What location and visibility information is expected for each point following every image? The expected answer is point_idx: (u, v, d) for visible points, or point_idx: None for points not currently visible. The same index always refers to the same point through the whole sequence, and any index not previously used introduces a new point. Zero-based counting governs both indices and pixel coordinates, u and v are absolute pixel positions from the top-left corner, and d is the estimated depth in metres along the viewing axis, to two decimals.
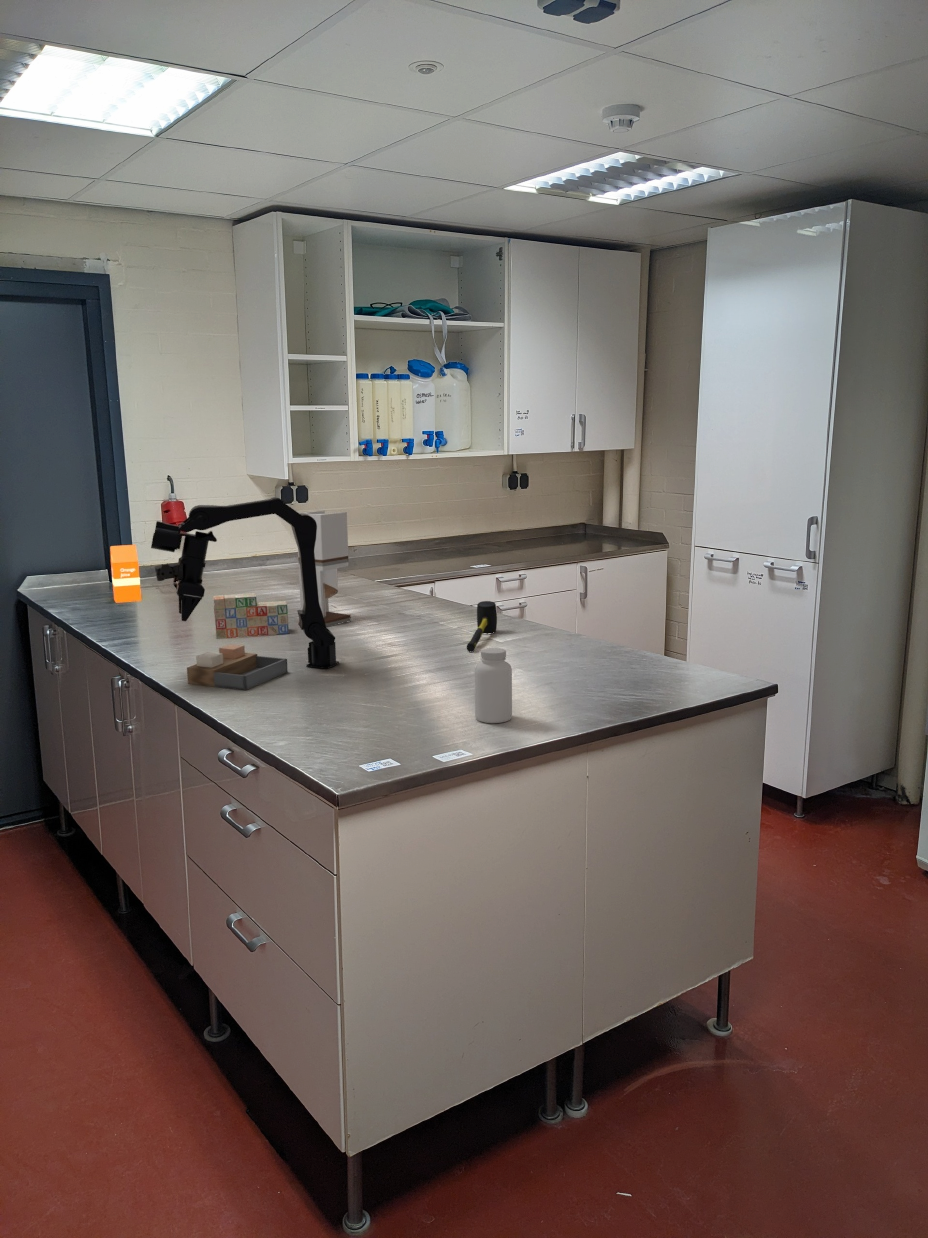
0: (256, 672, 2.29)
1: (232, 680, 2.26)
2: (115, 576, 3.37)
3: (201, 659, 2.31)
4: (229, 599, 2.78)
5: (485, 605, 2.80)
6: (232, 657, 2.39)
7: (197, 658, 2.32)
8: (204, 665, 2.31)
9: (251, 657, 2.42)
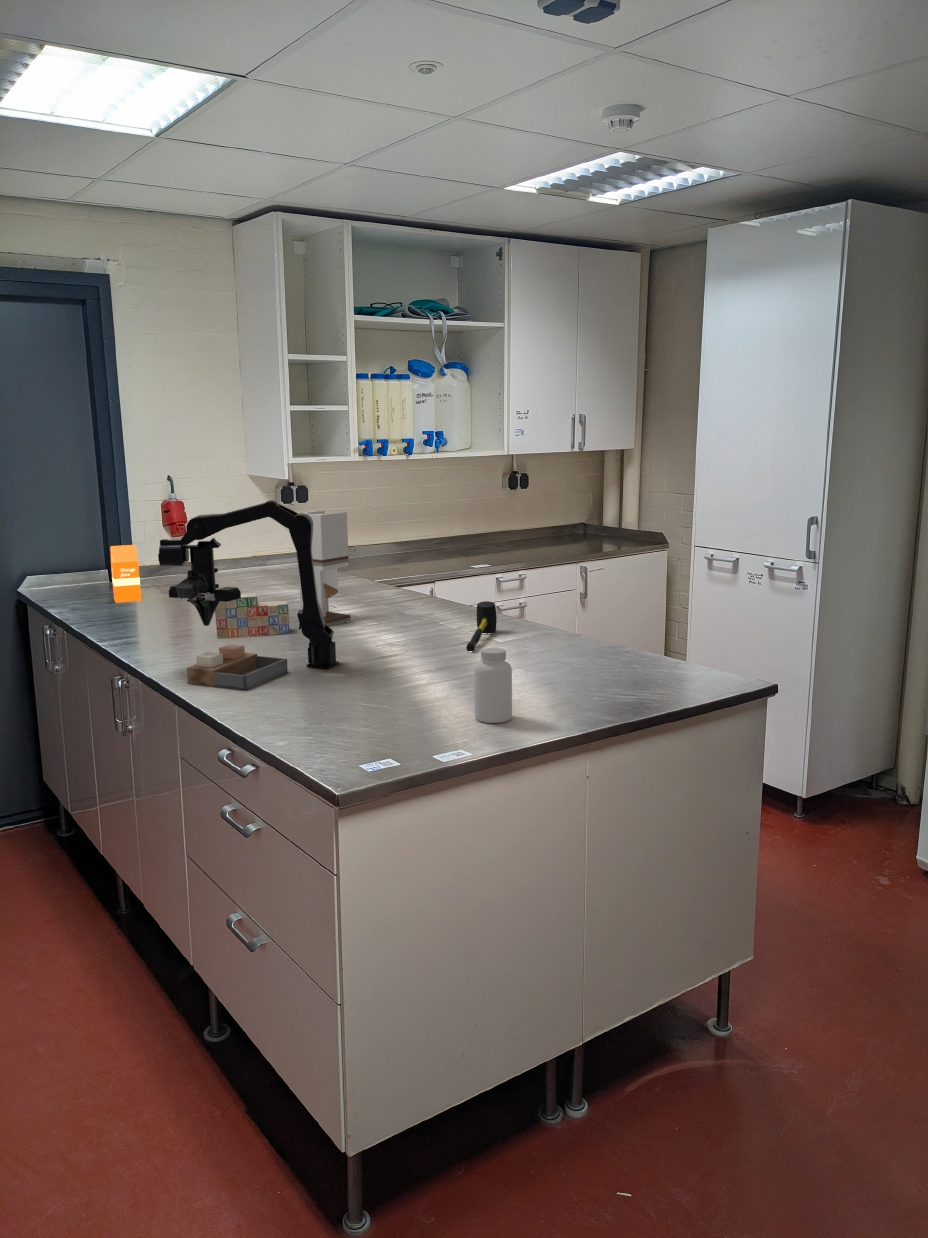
0: (256, 672, 2.29)
1: (232, 680, 2.26)
2: (115, 576, 3.37)
3: (201, 659, 2.31)
4: None
5: (485, 606, 2.80)
6: (232, 657, 2.39)
7: (197, 658, 2.32)
8: (204, 665, 2.31)
9: (251, 657, 2.42)
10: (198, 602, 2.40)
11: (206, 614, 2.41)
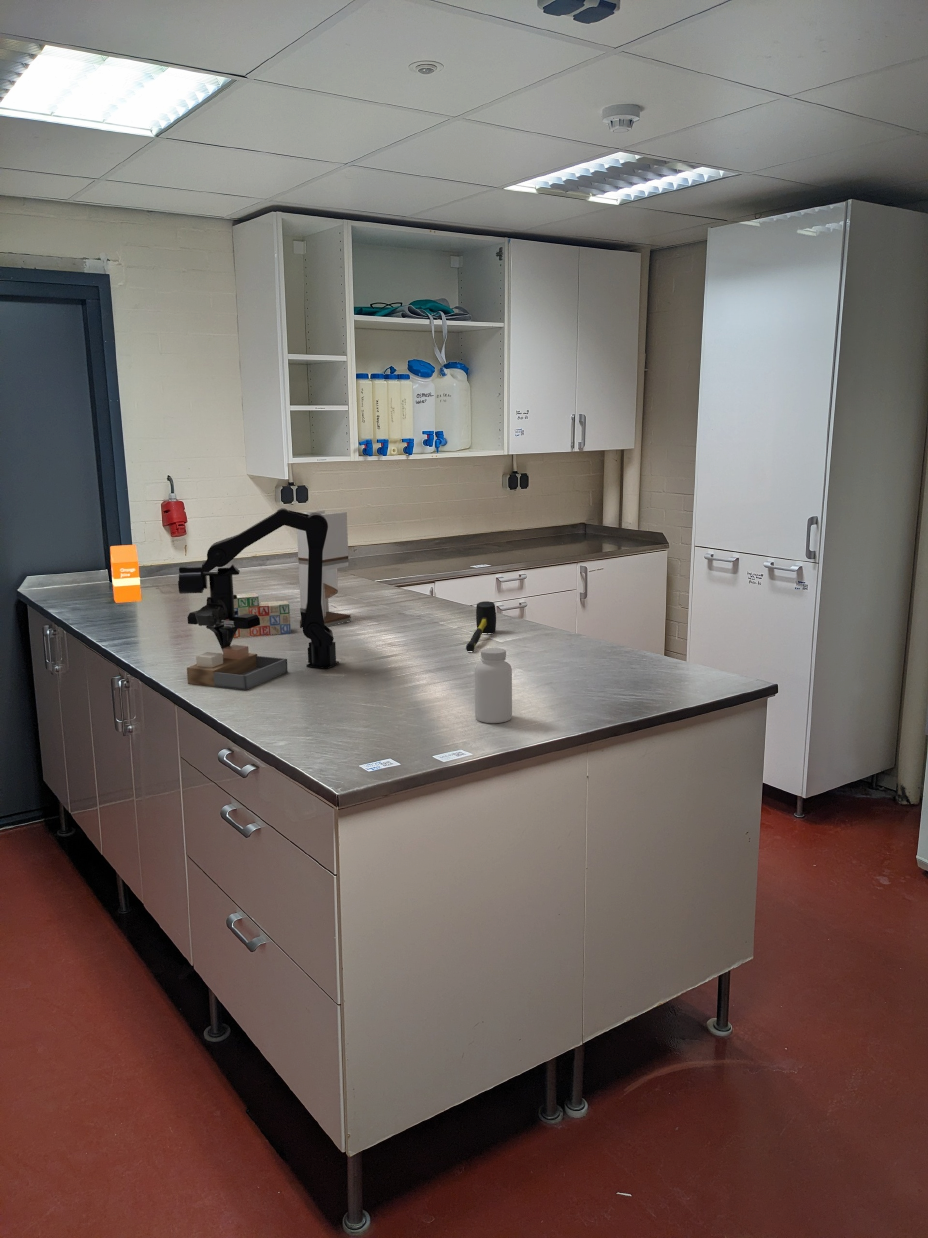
0: (256, 672, 2.29)
1: (232, 680, 2.26)
2: (115, 576, 3.37)
3: (201, 659, 2.31)
4: None
5: (485, 606, 2.80)
6: (236, 658, 2.38)
7: (197, 658, 2.32)
8: (204, 665, 2.31)
9: (251, 657, 2.42)
10: (217, 629, 2.40)
11: (225, 641, 2.40)
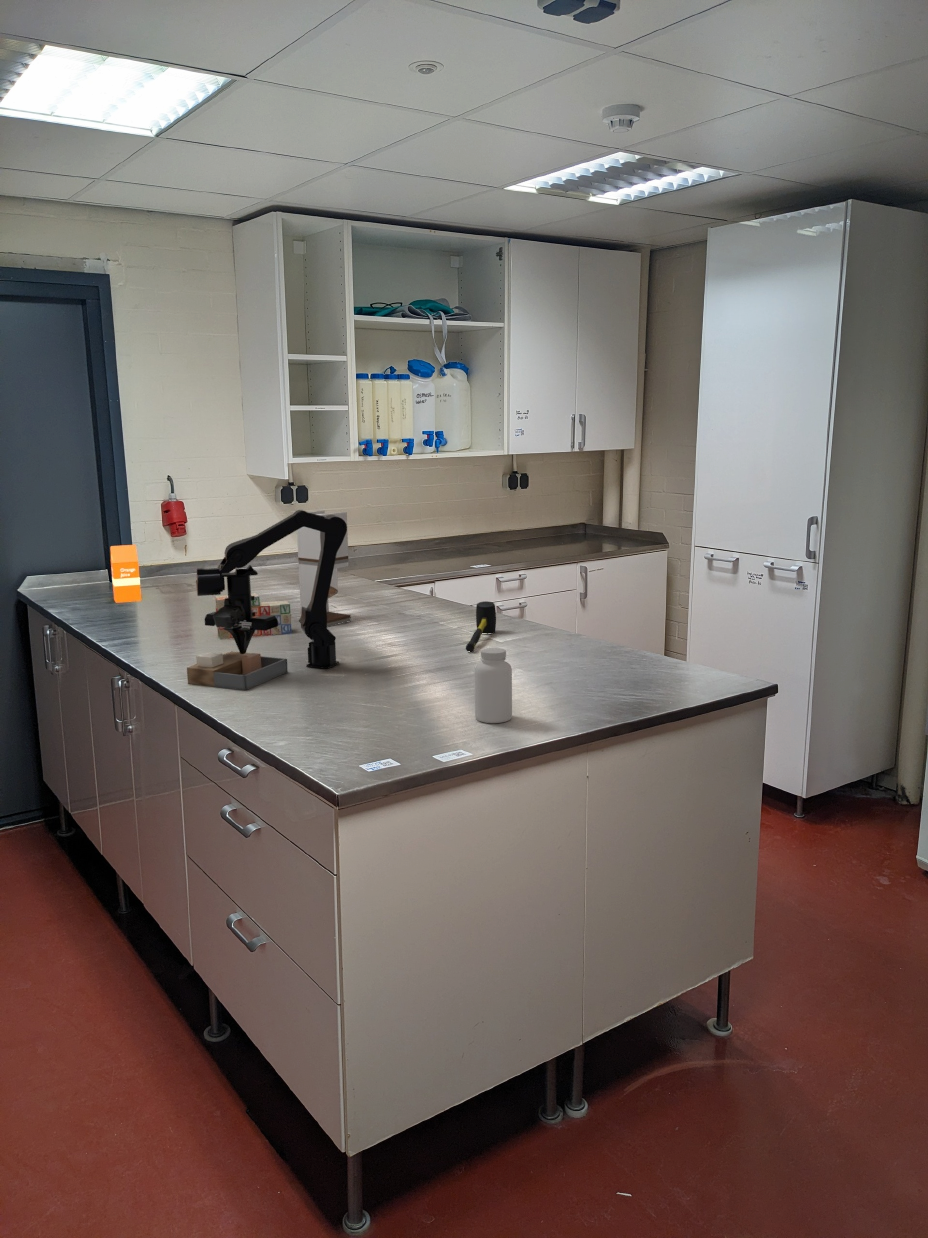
0: (256, 672, 2.29)
1: (232, 680, 2.26)
2: (115, 576, 3.37)
3: (201, 659, 2.31)
4: None
5: (485, 606, 2.79)
6: (244, 672, 2.37)
7: (197, 658, 2.32)
8: (204, 665, 2.31)
9: None
10: (235, 630, 2.37)
11: (243, 642, 2.38)
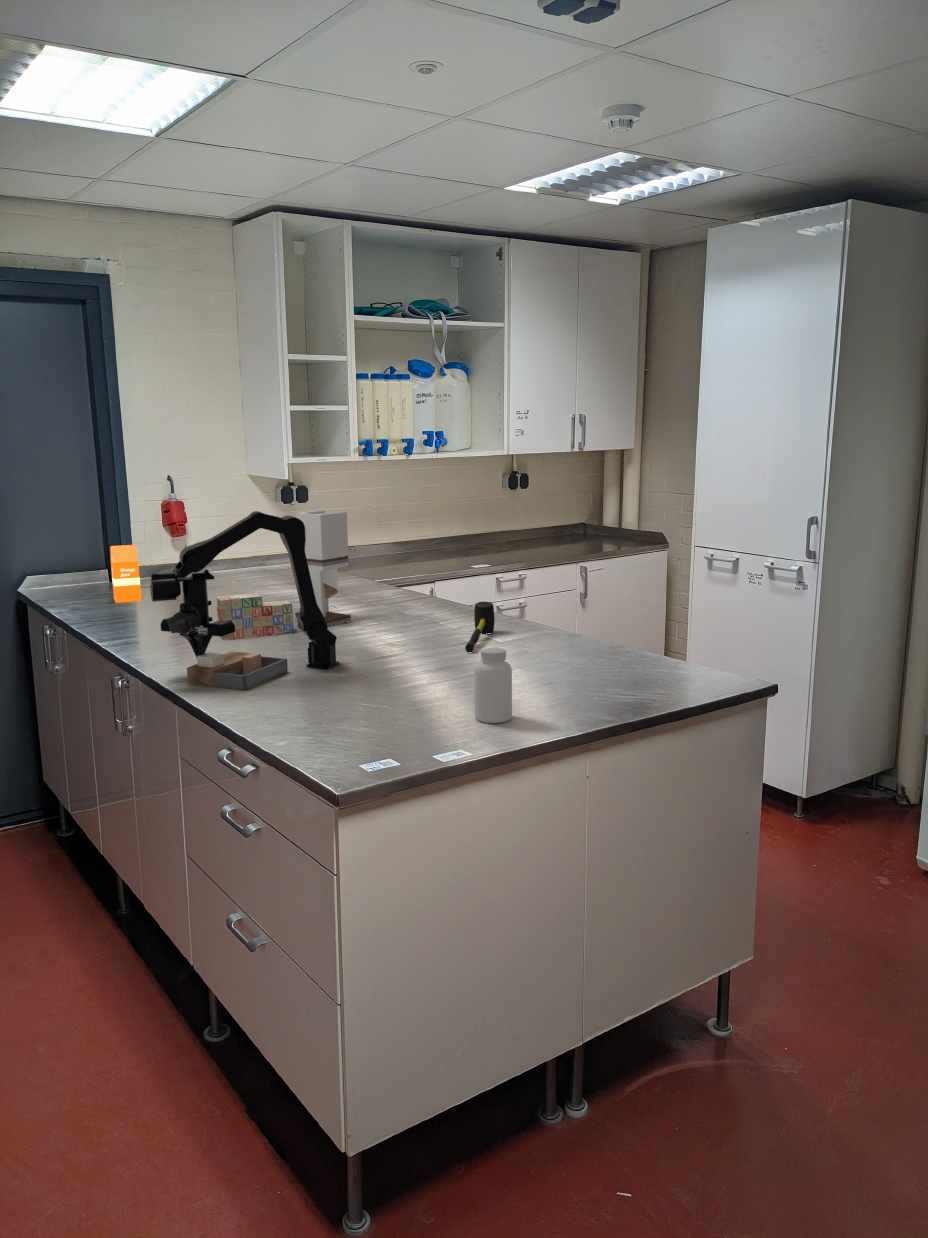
0: (256, 672, 2.29)
1: (232, 680, 2.26)
2: (115, 576, 3.37)
3: (202, 659, 2.31)
4: (235, 600, 2.77)
5: (483, 606, 2.79)
6: (244, 672, 2.37)
7: (198, 658, 2.32)
8: (205, 665, 2.31)
9: None
10: (191, 636, 2.32)
11: (199, 648, 2.32)
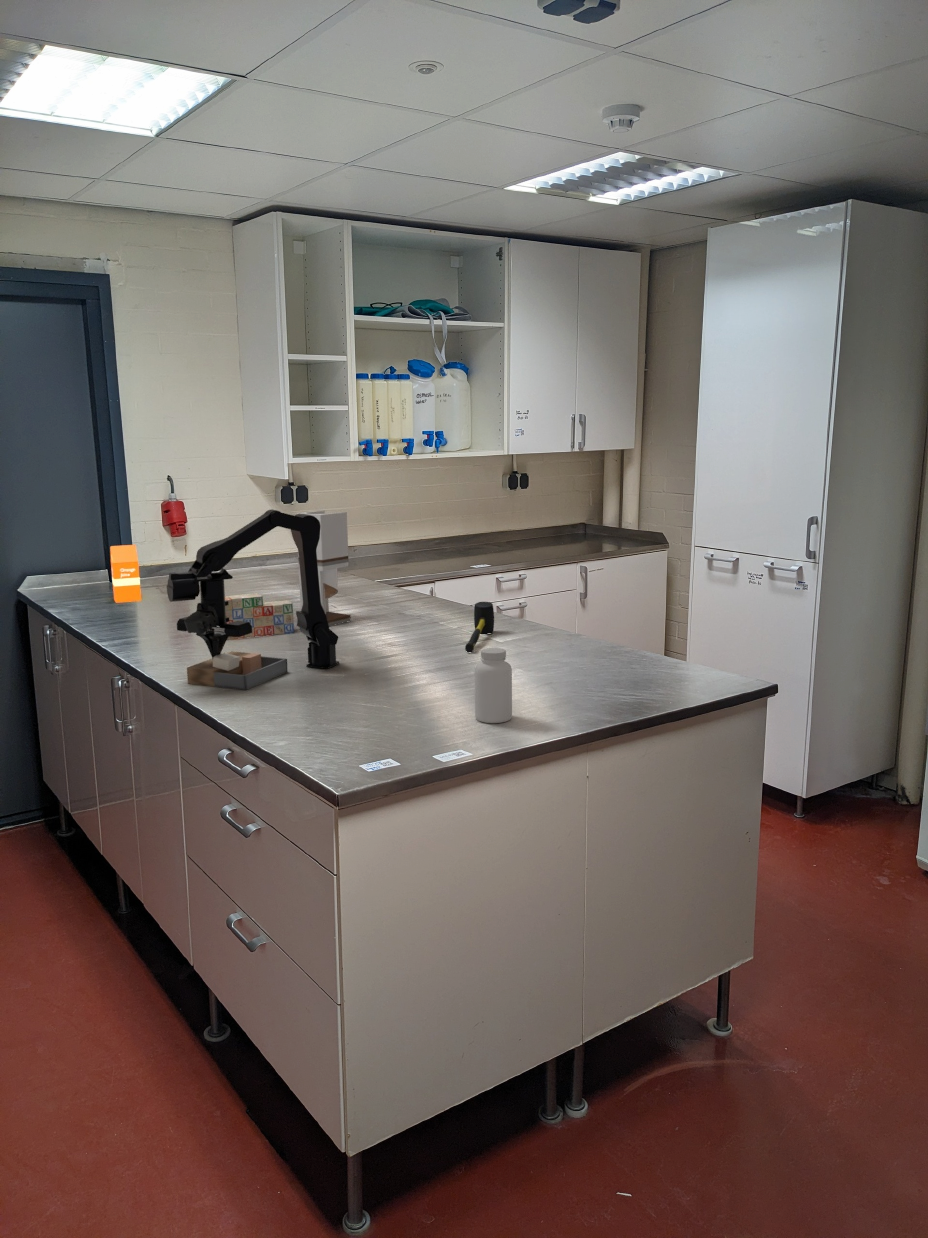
0: (256, 672, 2.29)
1: (232, 680, 2.26)
2: (115, 576, 3.37)
3: (218, 661, 2.29)
4: (236, 600, 2.77)
5: (483, 606, 2.79)
6: (244, 672, 2.37)
7: (214, 659, 2.30)
8: (220, 667, 2.29)
9: None
10: (208, 636, 2.30)
11: (215, 649, 2.30)
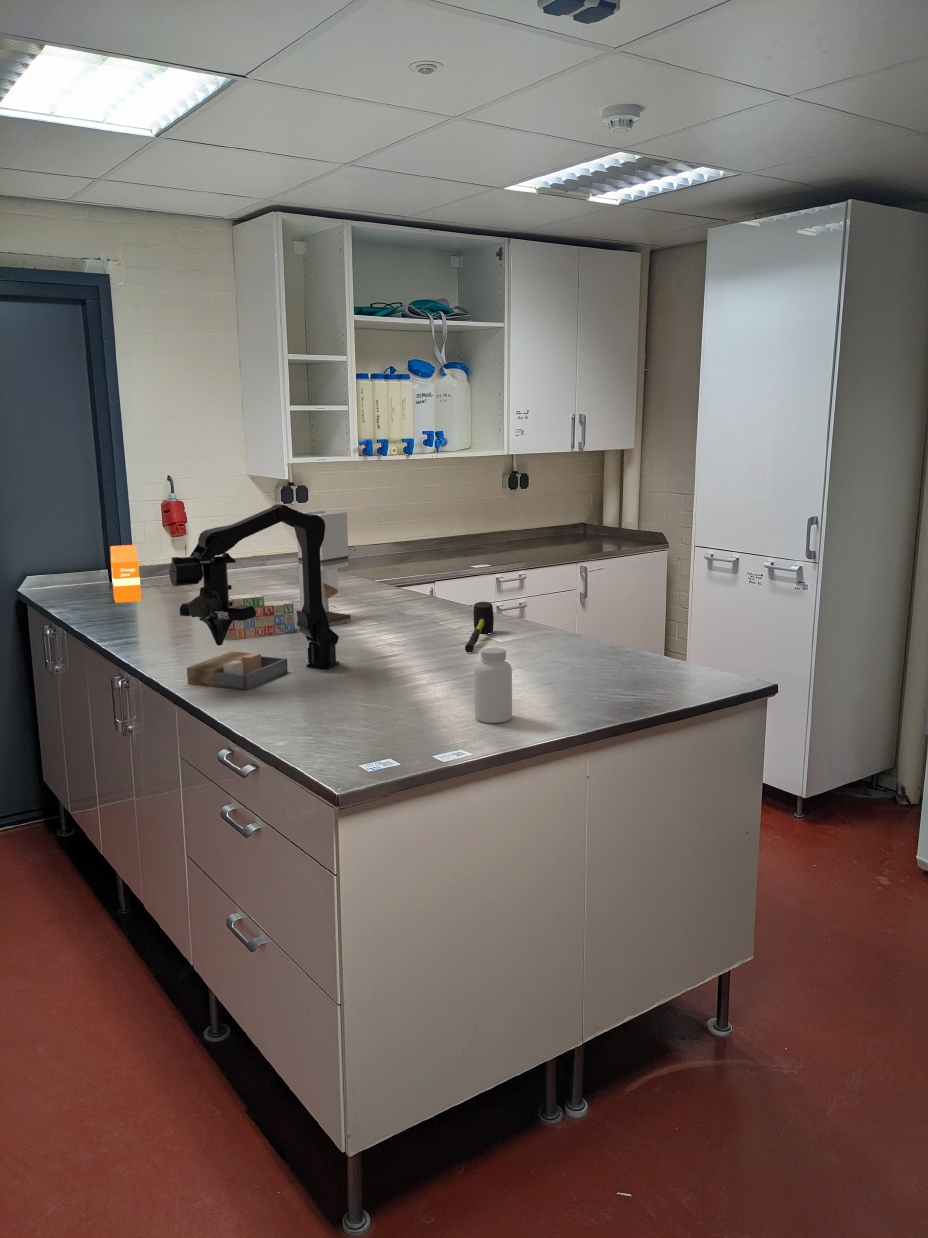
0: (256, 672, 2.29)
1: (232, 680, 2.26)
2: (115, 576, 3.37)
3: (229, 671, 2.29)
4: (237, 600, 2.77)
5: (482, 606, 2.79)
6: (244, 672, 2.37)
7: (230, 666, 2.28)
8: None
9: None
10: (211, 621, 2.28)
11: (219, 633, 2.29)
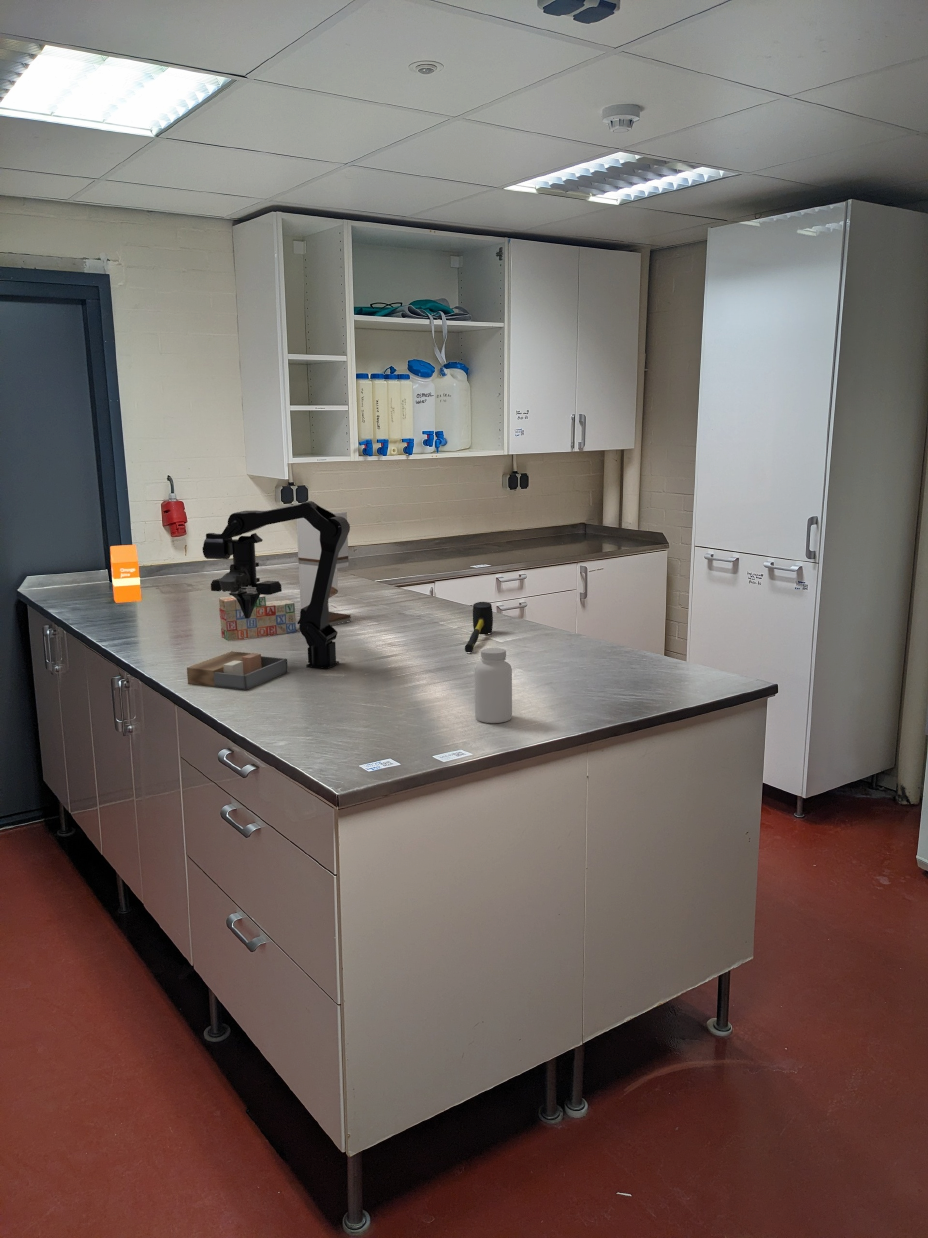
0: (256, 672, 2.29)
1: (232, 680, 2.26)
2: (115, 576, 3.37)
3: (229, 671, 2.29)
4: None
5: (482, 606, 2.79)
6: (244, 672, 2.37)
7: (230, 666, 2.28)
8: None
9: None
10: (240, 595, 2.46)
11: (247, 607, 2.47)
